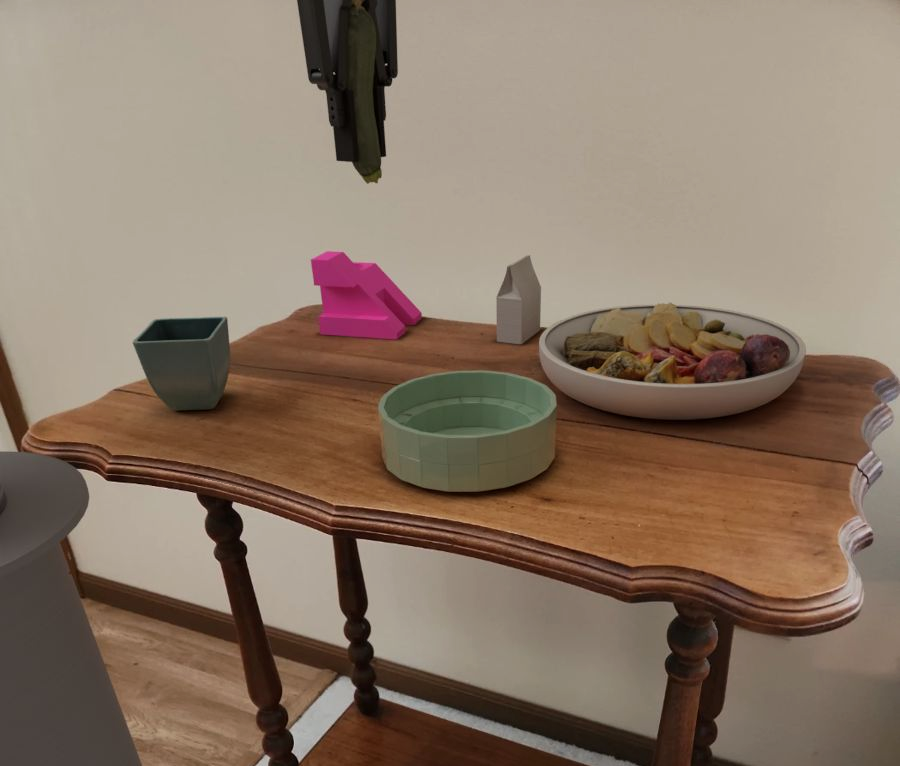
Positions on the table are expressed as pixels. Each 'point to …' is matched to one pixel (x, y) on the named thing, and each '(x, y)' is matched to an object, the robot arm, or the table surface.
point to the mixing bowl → (468, 430)
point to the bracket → (360, 299)
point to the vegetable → (363, 89)
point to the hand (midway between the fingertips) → (361, 158)
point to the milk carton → (518, 303)
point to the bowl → (671, 360)
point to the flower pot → (186, 360)
